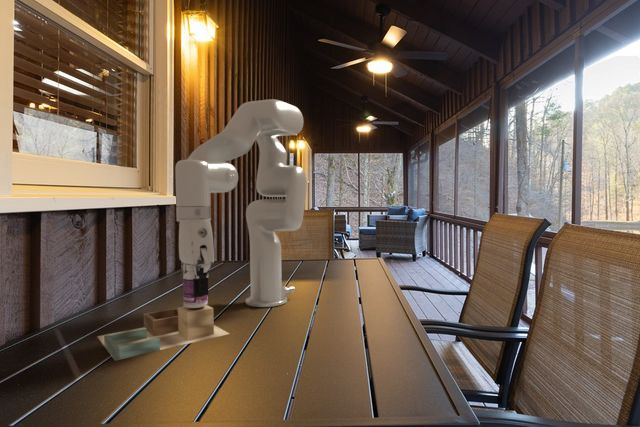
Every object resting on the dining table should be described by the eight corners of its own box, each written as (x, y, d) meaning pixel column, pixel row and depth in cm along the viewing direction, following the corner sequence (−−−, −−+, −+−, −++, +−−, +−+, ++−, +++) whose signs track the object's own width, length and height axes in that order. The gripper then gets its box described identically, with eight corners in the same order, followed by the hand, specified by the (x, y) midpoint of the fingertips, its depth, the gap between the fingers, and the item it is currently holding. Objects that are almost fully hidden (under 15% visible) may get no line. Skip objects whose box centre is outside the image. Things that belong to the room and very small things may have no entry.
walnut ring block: (177, 321, 102) (176, 307, 102) (188, 329, 96) (188, 314, 96) (144, 327, 97) (143, 313, 97) (154, 336, 91) (153, 321, 91)
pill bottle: (200, 309, 89) (199, 266, 89) (179, 308, 90) (177, 265, 90) (212, 303, 95) (211, 262, 94) (191, 302, 96) (190, 261, 95)
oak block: (203, 328, 97) (202, 302, 97) (213, 334, 92) (213, 308, 92) (178, 333, 93) (177, 307, 93) (188, 340, 88) (187, 312, 88)
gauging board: (199, 319, 107) (199, 308, 106) (229, 337, 93) (229, 324, 92) (97, 339, 92) (96, 326, 92) (115, 364, 78) (114, 349, 77)
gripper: (225, 214, 88) (227, 297, 88) (195, 213, 101) (197, 285, 102) (191, 216, 83) (194, 303, 84) (164, 214, 96) (166, 289, 97)
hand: (195, 292), depth 93 cm, fingers closed on pill bottle, 5 cm apart
